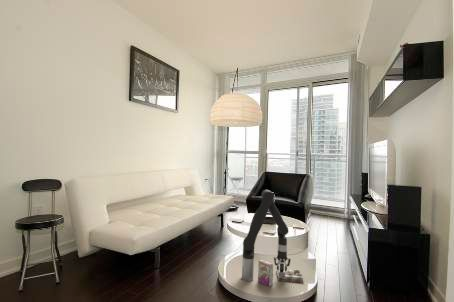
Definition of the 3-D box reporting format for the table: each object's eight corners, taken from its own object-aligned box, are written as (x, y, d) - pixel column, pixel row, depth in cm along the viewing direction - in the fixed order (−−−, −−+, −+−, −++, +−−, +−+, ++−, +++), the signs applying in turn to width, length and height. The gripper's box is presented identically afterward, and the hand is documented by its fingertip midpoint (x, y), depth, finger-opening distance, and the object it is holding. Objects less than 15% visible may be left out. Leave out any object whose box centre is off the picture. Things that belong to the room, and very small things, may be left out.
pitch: (278, 281, 192) (278, 275, 192) (276, 272, 207) (276, 267, 208) (303, 283, 190) (303, 277, 190) (299, 274, 205) (299, 269, 206)
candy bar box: (257, 281, 189) (258, 260, 190) (261, 279, 192) (262, 259, 194) (269, 287, 181) (269, 265, 182) (272, 285, 184) (273, 263, 186)
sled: (278, 278, 193) (279, 264, 193) (277, 271, 204) (277, 259, 205) (285, 278, 192) (285, 264, 193) (283, 272, 204) (283, 259, 204)
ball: (288, 275, 199) (288, 270, 199) (287, 273, 203) (287, 268, 203) (293, 276, 198) (293, 271, 199) (292, 274, 202) (292, 269, 203)
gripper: (274, 250, 193) (273, 271, 192) (291, 252, 191) (291, 273, 190) (273, 247, 200) (272, 268, 199) (290, 248, 199) (289, 269, 198)
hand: (281, 270), depth 195 cm, fingers open, 5 cm apart
